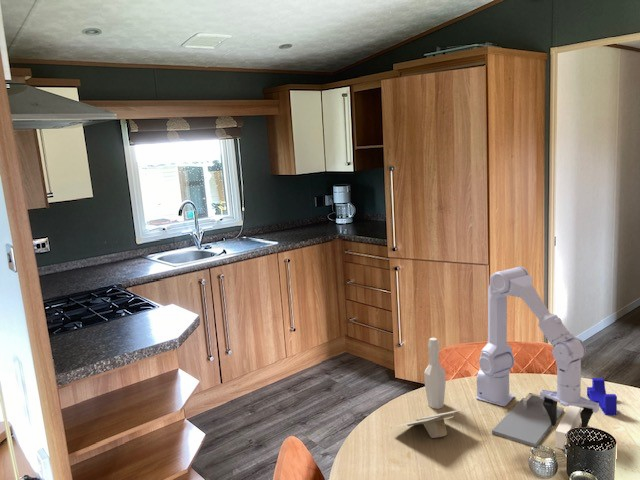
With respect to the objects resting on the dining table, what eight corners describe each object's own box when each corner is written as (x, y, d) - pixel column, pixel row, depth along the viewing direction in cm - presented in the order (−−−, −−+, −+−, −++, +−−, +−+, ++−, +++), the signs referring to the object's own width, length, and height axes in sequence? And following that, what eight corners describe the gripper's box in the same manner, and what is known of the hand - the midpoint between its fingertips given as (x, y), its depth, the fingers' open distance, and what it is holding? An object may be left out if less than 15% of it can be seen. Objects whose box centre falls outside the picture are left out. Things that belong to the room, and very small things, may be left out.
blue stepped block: (587, 396, 164) (587, 378, 163) (602, 396, 163) (602, 378, 162) (599, 415, 152) (599, 396, 151) (616, 415, 151) (616, 396, 150)
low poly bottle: (440, 411, 161) (437, 344, 157) (422, 406, 165) (418, 340, 161) (450, 403, 166) (447, 337, 162) (432, 398, 170) (429, 334, 166)
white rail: (555, 448, 138) (555, 430, 137) (569, 420, 151) (569, 404, 150) (567, 451, 136) (567, 433, 136) (580, 423, 149) (580, 407, 148)
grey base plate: (492, 433, 147) (491, 420, 146) (523, 400, 164) (523, 388, 163) (535, 447, 139) (535, 433, 138) (563, 411, 156) (563, 398, 155)
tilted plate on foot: (401, 458, 146) (434, 439, 136) (388, 427, 150) (419, 407, 140) (441, 444, 155) (474, 426, 146) (428, 415, 160) (460, 396, 150)
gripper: (535, 381, 143) (536, 427, 145) (593, 395, 133) (593, 443, 136) (545, 372, 148) (545, 416, 150) (601, 384, 138) (600, 431, 141)
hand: (568, 428), depth 143 cm, fingers open, 7 cm apart
